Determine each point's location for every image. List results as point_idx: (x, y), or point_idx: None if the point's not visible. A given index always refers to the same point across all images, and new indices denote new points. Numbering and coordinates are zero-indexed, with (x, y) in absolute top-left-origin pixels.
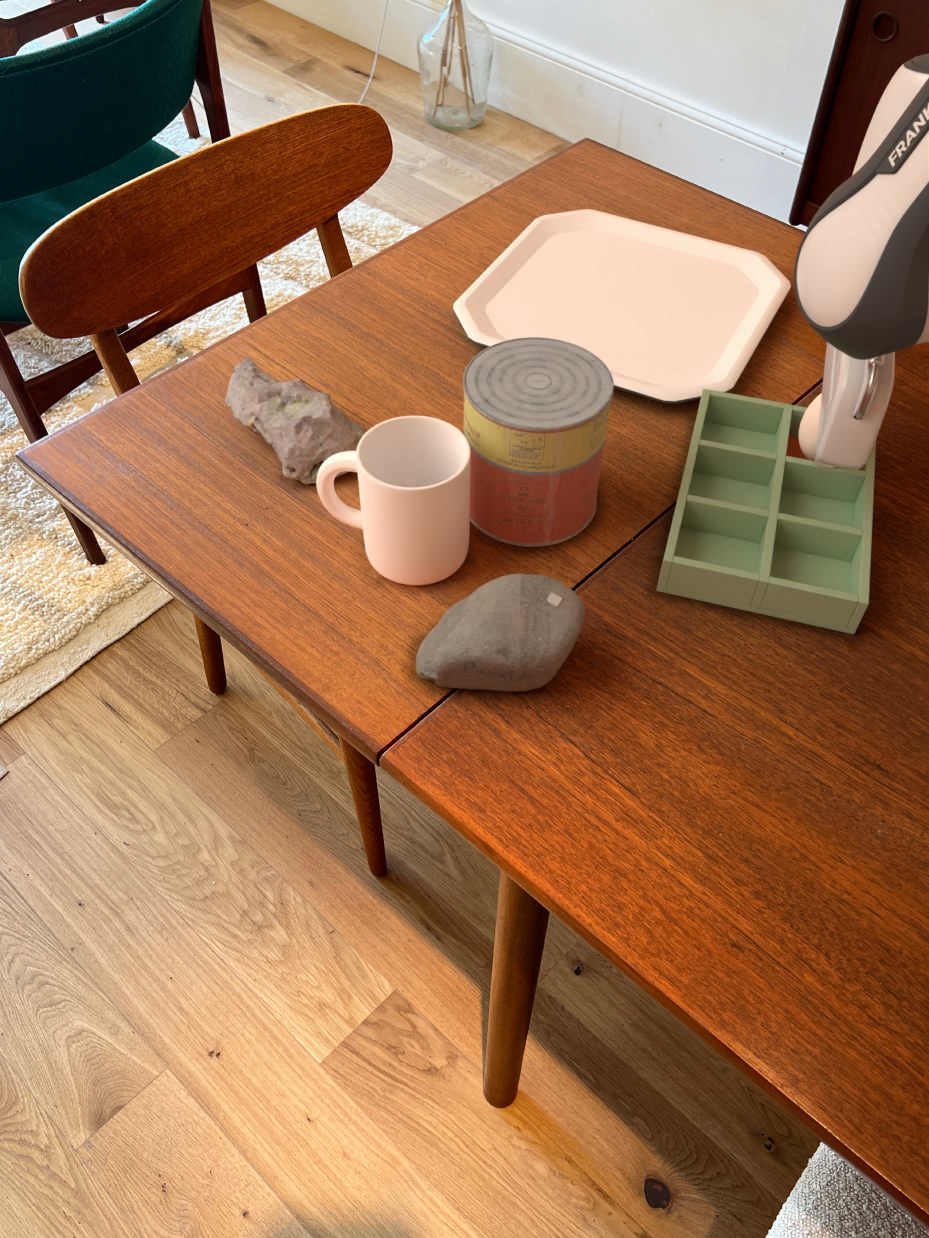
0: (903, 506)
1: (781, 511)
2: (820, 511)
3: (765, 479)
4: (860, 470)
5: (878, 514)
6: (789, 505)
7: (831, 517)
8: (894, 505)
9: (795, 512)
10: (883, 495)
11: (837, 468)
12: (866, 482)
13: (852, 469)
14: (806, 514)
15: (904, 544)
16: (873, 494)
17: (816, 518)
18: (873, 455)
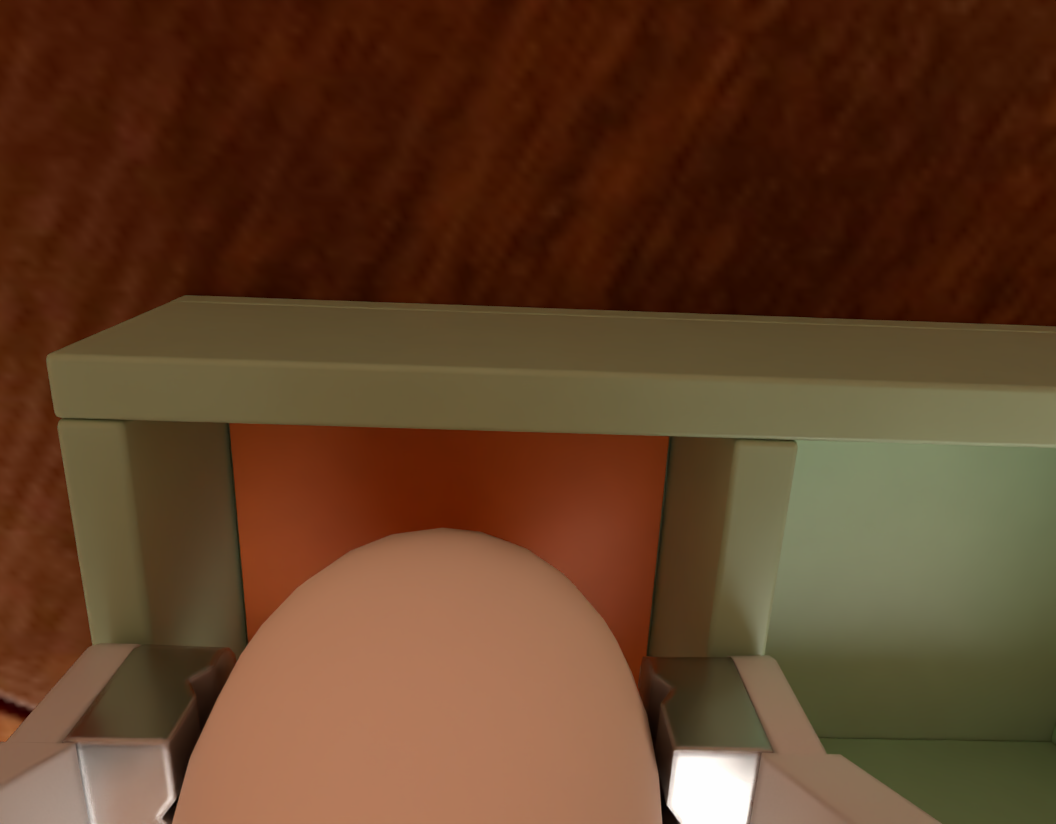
0: (639, 53)
1: (849, 704)
2: (819, 536)
3: None
4: (740, 478)
5: (741, 213)
6: (798, 674)
7: (862, 484)
8: (641, 112)
9: (843, 645)
10: (563, 180)
11: (749, 625)
12: (868, 435)
13: (736, 530)
14: (855, 600)
15: (984, 60)
16: (999, 386)
17: (880, 554)
18: (538, 387)
